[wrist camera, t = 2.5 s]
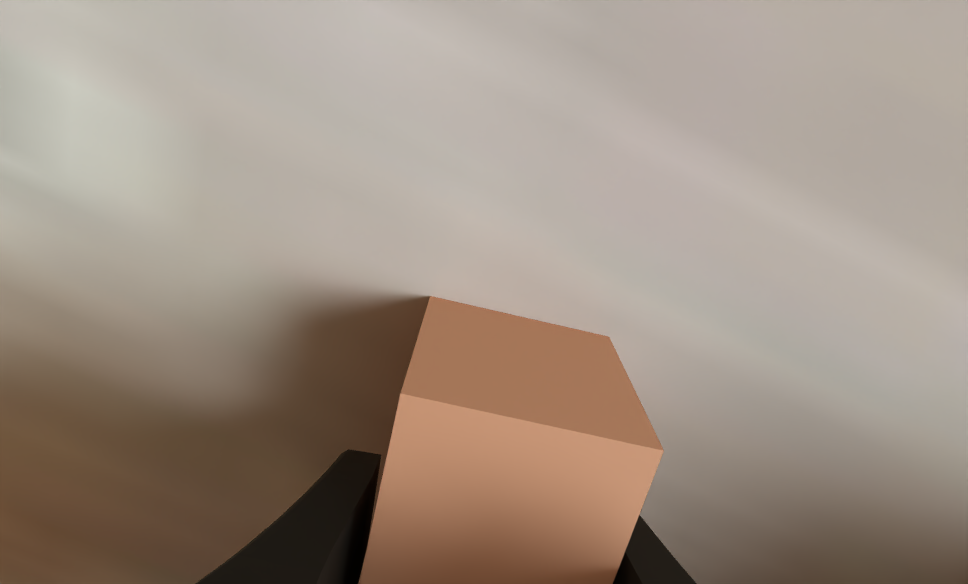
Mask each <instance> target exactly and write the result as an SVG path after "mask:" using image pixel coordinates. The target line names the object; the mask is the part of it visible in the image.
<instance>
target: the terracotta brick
mask: <svg viewBox="0 0 968 584" xmlns="http://www.w3.org/2000/svg"><path fill="white" fill-rule="evenodd" d="M663 452H664V450H663V448H662V446H661V444H660V442H659V440H658V438H657V435H656V433H655V431H654V429H653V427H652V425H651V423H650V421H649V419H648V417H647V415H646V413H645V411H644V408H643V406H642V404H641V402H640V400H639V398H638V396H637V394H636V392H635V390H634V388H633V386H632V384H631V381H630V379H629V377H628V375H627V373H626V371H625V369H624V367H623V365H622V363H621V361H620V359H619V357H618V355H617V352H616V350H615V348H614V346H613V344H612V342H611V340H610V338H609V337H607V336H603V335H599V334H594V333H590V332H585V331H581V330H577V329H572V328H568V327H564V326H559V325H555V324H550V323H546V322H542V321H537V320H533V319H528V318H524V317H520V316H515V315H511V314H506V313H502V312H498V311H493V310H489V309H485V308H480V307H476V306H471V305H467V304H463V303H458V302H454V301H449V300H445V299H441V298H436V297H432V296H430V299H429V302H428V305H427V308H426V312H425V315H424V318H423V321H422V325H421V328H420V331H419V335H418V338H417V341H416V344H415V348H414V351H413V354H412V357H411V361H410V364H409V367H408V370H407V374H406V377H405V380H404V384H403V387H402V390H401V393H400V398H399V403H398V407H397V412H396V416H395V421H394V426H393V430H392V435H391V439H390V444H389V449H388V453H387V458H386V462H385V467H384V472H383V476H382V481H381V485H380V490H379V495H378V499H377V504H376V508H375V513H374V518H373V522H372V527H371V532H370V536H369V541H368V545H367V550H366V555H365V559H364V564H363V568H362V573H361V578H360V582H359V584H613V581H614V579H615V576H616V574H617V571H618V569H619V566H620V563H621V561H622V558H623V556H624V553H625V550H626V548H627V545H628V543H629V540H630V537H631V535H632V532H633V530H634V527H635V524H636V522H637V519H638V517H639V514H640V511H641V509H642V506H643V504H644V501H645V499H646V496H647V493H648V491H649V488H650V486H651V483H652V480H653V478H654V475H655V473H656V470H657V467H658V465H659V462H660V460H661V457H662V454H663Z"/></svg>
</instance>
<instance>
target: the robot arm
mask: <svg viewBox="0 0 968 584" xmlns="http://www.w3.org/2000/svg"><path fill="white" fill-rule="evenodd" d="M380 460H381V455H379V454H373V453H367V452H360V451H354V450H347V451H345V452H344V453H342V454H341V455H340V456H339V457H338V459H337V460H336V461H335V462H334V463H333V464H332V466H331V467H330V468H329V469H328V470H327V471H326V472H325V473H324V474H323V475H322V476H321V478H320V479H319V480H318V481H317V482H316V483H315V484H314V485H313V486H312V487H311V488H310V489H309V490H308V491H307V492H306V493H305V494H304V495H303V496H302V497H301V498H300V499H299V500H297V501H296V502H295V503H294V504H293V505H292V506H291V507H290V508H289V509H288V510H287V511H286V512H285V513H284V514H283V515H282V516H281V517H279V518H278V519H277V520H276V521H275V522H274V523H273V524H271V525H270V526H269V527H268V528H267V529H265V530H264V531H263V532H262V533H261V534H260V535H258V536H257V537H256V538H255V539H254V540H252V541H251V542H250V543H249V544H248V545H246V546H245V547H244V548H243V549H242V550H240V551H239V552H238V553H236V554H235V555H234V556H233V557H231V558H230V559H229V560H227V561H226V562H225V563H223V564H222V565H221V566H219V567H218V568H217V569H215V570H214V571H213V572H211V573H210V574H208V575H207V576H205V577H204V578H203V579H201V580H200V581H198V582H197V583H196V584H358V583H359V579H360V574H361V570H362V566H363V562H364V558H365V554H366V550H367V545H368V539H369V532H370V526H371V519H372V513H373V506H374V499H375V493H376V486H377V479H378V473H379V466H380ZM613 584H696V583H695V582H694V580H693V579H692V578H691V577H690V576H689V575H688V573H687V572H686V571H685V570H684V569H683V568H682V566H681V565H680V564H679V563H678V562H677V560H676V559H675V558H674V557H673V556H672V554H671V553H670V552H669V551H668V550H667V548H666V547H665V546H664V545H663V544H662V542H661V541H660V540H659V539H658V537H657V536H656V535H655V534H654V532H653V531H652V530H651V529H650V527H649V526H648V525H647V524H646V522H645V521H644V520H643V519H642V517H641V516H640V515H639V517H638V519H637V522H636V524H635V527H634V530H633V532H632V535H631V537H630V540H629V543H628V545H627V548H626V550H625V553H624V556H623V558H622V561H621V563H620V566H619V569H618V571H617V574H616V576H615V579H614V581H613Z"/></svg>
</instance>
